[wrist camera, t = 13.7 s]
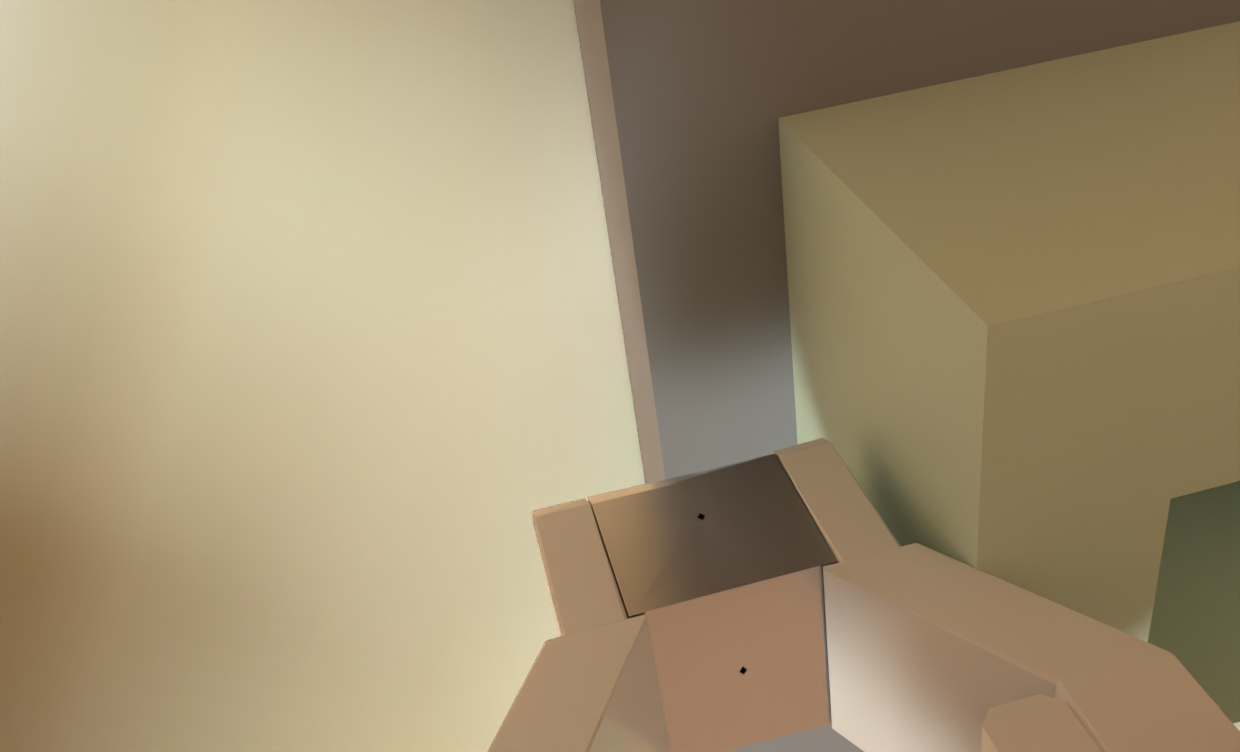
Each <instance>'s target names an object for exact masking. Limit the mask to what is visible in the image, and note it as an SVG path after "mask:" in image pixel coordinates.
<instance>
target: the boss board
mask: <svg viewBox="0 0 1240 752" xmlns="http://www.w3.org/2000/svg"><path fill="white" fill-rule="evenodd" d="M574 7H575V13H576V20H577V27H578V34H579V40H580V47H581V54H582V60H583V67H584V74H585V81H586V87H587V94H588V101H589V107H590V114H591V121H592V128H593V134H594V141H595V148H596V154H597V161H598V168H599V175H600V181H601V188H602V195H603V201H604V208H605V215H606V221H607V228H608V235H609V242H610V248H611V255H612V262H613V268H614V275H615V282H616V289H617V295H618V302H619V309H620V315H621V322H622V329H623V336H624V342H625V349H626V356H627V362H628V369H629V376H630V383H631V389H632V396H633V403H634V409H635V416H636V423H637V429H638V436H639V443H640V450H641V456H642V463H643V470H644V476H645V483H646V484H648V483H652V482H656V481H661V480H665V479H669V478H674V477H678V476H683V475H687V474H691V473H697V472H701V471H705V470H709V469H713V468H717V467H721V466H724V465H728V464H732V463H736V462H740V461H744V460H748V459H752V458H755V457H759V456H763V455H768V454H770V453H771V452H772V451H776V450H779V449H783V448H787V447H790V446H794V445H797V427H796V410H795V393H794V377H793V360H792V343H791V327H790V310H789V293H788V277H787V260H786V243H785V226H784V210H783V193H782V176H781V160H780V143H779V126H778V118H780V117H785V116H790V115H795V114H799V113H804V112H809V111H814V110H819V109H823V108H828V107H833V106H838V105H842V104H847V103H852V102H857V101H861V100H866V99H871V98H876V97H881V96H885V95H890V94H895V93H900V92H904V91H909V90H914V89H919V88H923V87H928V86H933V85H938V84H943V83H947V82H952V81H957V80H962V79H966V78H971V77H976V76H981V75H986V74H990V73H995V72H1000V71H1005V70H1009V69H1014V68H1019V67H1024V66H1028V65H1033V64H1038V63H1043V62H1048V61H1052V60H1057V59H1062V58H1067V57H1071V56H1076V55H1081V54H1086V53H1090V52H1095V51H1100V50H1105V49H1110V48H1114V47H1119V46H1124V45H1129V44H1133V43H1138V42H1143V41H1148V40H1152V39H1157V38H1162V37H1167V36H1172V35H1176V34H1181V33H1186V32H1191V31H1195V30H1200V29H1205V28H1210V27H1215V26H1219V25H1224V24H1229V23H1234V22H1238V21H1240V0H574ZM727 752H864V751H863V750H861V749H860V748H859V747H857V746H856V745H854V744H853V743H852V742H850V741H849V740H847V739H846V738H845V737H843V736H842V735H841V734H839V733H838V732H836V731H835V730H834V729H832V724H829V725H825V726H821V727H817V728H813V729H809V730H805V731H801V732H797V733H793V734H789V735H785V736H781V737H777V738H773V739H769V740H765V741H761V742H757V743H753V744H750V745H746V746H743V747H740V748H737V749H733V750H730V751H727Z"/></svg>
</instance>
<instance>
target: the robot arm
mask: <svg viewBox="0 0 1240 752" xmlns="http://www.w3.org/2000/svg"><path fill="white" fill-rule="evenodd" d="M532 517H533V525H534V529H535V533H536V537H537V542H538V546H539V550H540V555H541V559H542V563H543V567H544V572H545V576H546V580H547V585H548V589H549V593H550V597H551V602H552V606H553V610H554V615H555V619H556V623H557V627H558V632H559V636H560V637H558V638H554V639H550V640H547V641H545V643H544V645H543V647H542V649H541V651H540V653H539V654H538V656H537V658H536V660H535V662H534V664H533V666H532V668H531V670H530V672H529V673H528V675H527V677H526V679H525V681H524V683H523V685H522V687H521V689H520V691H519V693H518V694H517V696H516V698H515V700H514V702H513V704H512V706H511V708H510V710H509V712H508V713H507V715H506V717H505V719H504V721H503V723H502V725H501V727H500V729H499V731H498V732H497V734H496V736H495V738H494V740H493V742H492V744H491V746H490V748H489V750H488V752H727V751H730V750H733V749H737V748H740V747H743V746H746V745H750V744H753V743H757V742H761V741H765V740H769V739H773V738H777V737H781V736H785V735H789V734H793V733H797V732H801V731H805V730H809V729H813V728H817V727H821V726H825V725H829V724H832V729H834V730H835V731H836V732H838V733H839V734H841V735H842V736H843V737H845V738H846V739H847V740H849V741H850V742H852V743H853V744H854V745H856V746H857V747H859V748H860V749H861V750H863V751H864V752H1240V731H1239V730H1238V729H1237V728H1236V727H1235V725H1234V724H1233V723H1232V722H1231V721H1230V720H1229V718H1228V717H1227V716H1226V715H1225V714H1224V713H1223V711H1222V710H1221V709H1220V708H1219V707H1218V706H1217V705H1216V703H1215V702H1214V701H1213V700H1212V699H1211V698H1210V696H1209V695H1208V694H1207V693H1206V692H1205V691H1204V689H1203V688H1202V687H1201V686H1200V685H1199V684H1198V682H1197V681H1196V680H1195V679H1194V678H1193V677H1192V676H1191V674H1190V673H1189V672H1188V671H1187V670H1186V669H1185V667H1184V666H1183V665H1182V664H1181V663H1180V662H1179V660H1178V659H1177V658H1176V657H1175V656H1174V655H1173V653H1171V652H1168V651H1166V650H1164V649H1161V648H1159V647H1157V646H1154V645H1152V644H1150V643H1148V642H1145V641H1143V640H1141V639H1138V638H1136V637H1134V636H1131V635H1129V634H1127V633H1124V632H1122V631H1120V630H1117V629H1115V628H1113V627H1111V626H1108V625H1106V624H1104V623H1101V622H1099V621H1097V620H1094V619H1092V618H1090V617H1087V616H1085V615H1083V614H1081V613H1078V612H1076V611H1074V610H1071V609H1069V608H1067V607H1064V606H1062V605H1060V604H1057V603H1055V602H1053V601H1050V600H1048V599H1046V598H1044V597H1041V596H1039V595H1037V594H1034V593H1032V592H1030V591H1027V590H1025V589H1023V588H1020V587H1018V586H1016V585H1013V584H1011V583H1009V582H1007V581H1004V580H1002V579H1000V578H997V577H995V576H993V575H990V574H988V573H986V572H983V571H981V570H978V571H976V570H975V569H974V567H972V566H970V565H967V564H965V563H963V562H960V561H958V560H956V559H953V558H951V557H949V556H946V555H944V554H942V553H940V552H937V551H935V550H933V549H930V548H928V547H926V546H923V545H921V544H919V543H913V544H909V545H906V546H902V547H901V546H900V544H899V543H898V541H897V540H896V538H895V537H894V535H893V534H892V532H891V531H890V529H889V528H888V526H887V525H886V523H885V522H884V520H883V519H882V517H881V516H880V514H879V513H878V511H877V510H876V508H875V507H874V505H873V504H872V502H871V501H870V499H869V498H868V496H867V495H866V493H865V492H864V491H863V489H862V488H861V486H860V485H859V483H858V482H857V480H856V479H855V477H854V476H853V474H852V473H851V471H850V470H849V468H848V467H847V465H846V464H845V462H844V461H843V459H842V458H841V456H840V455H839V453H838V452H837V450H836V449H835V447H834V446H833V444H832V443H831V442H830V441H828V440H826V439H824V438H819V439H815V440H812V441H808V442H804V443H801V444H797V445H794V446H790V447H787V448H783V449H779V450H776V451H772V452H771V453H770V454H768V455H763V456H759V457H755V458H752V459H748V460H744V461H740V462H736V463H732V464H728V465H724V466H721V467H717V468H713V469H709V470H705V471H701V472H697V473H691V474H687V475H683V476H678V477H674V478H669V479H665V480H661V481H656V482H652V483H648V484H643V485H639V486H634V487H630V488H626V489H621V490H617V491H613V492H608V493H604V494H599V495H595V496H591V497H588V501H587V500H586V499H585V498H584V499H580V500H576V501H572V502H568V503H563V504H559V505H555V506H551V507H547V508H542V509H538V510H534V511H532Z"/></svg>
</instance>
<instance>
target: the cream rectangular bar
mask: <svg viewBox="0 0 1240 752" xmlns="http://www.w3.org/2000/svg"><path fill="white" fill-rule="evenodd" d="M778 126H779V143H780V160H781V176H782V193H783V210H784V226H785V243H786V260H787V277H788V293H789V310H790V327H791V343H792V360H793V377H794V393H795V410H796V427H797V444H801V443H804V442H808V441H812V440H815V439H819V438H824V439H826V440H828V441H830V442H831V443H832V444H833V446H834V447H835V449H836V450H837V452H838V453H839V455H840V456H841V458H842V459H843V461H844V462H845V464H846V465H847V467H848V468H849V470H850V471H851V473H852V474H853V476H854V477H855V479H856V480H857V482H858V483H859V485H860V486H861V488H862V489H863V491H864V492H865V493H866V495H867V496H868V498H869V499H870V501H871V502H872V504H873V505H874V507H875V508H876V510H877V511H878V513H879V514H880V516H881V517H882V519H883V520H884V522H885V523H886V525H887V526H888V528H889V529H890V531H891V532H892V534H893V535H894V537H895V538H896V540H897V541H898V543H899V544H900V546H901V547H902V546H906V545H909V544H913V543H919V544H921V545H923V546H926V547H928V548H930V549H933V550H935V551H937V552H940V553H942V554H944V555H946V556H949V557H951V558H953V559H956V560H958V561H960V562H963V563H965V564H967V565H970V566H972V567H974V569H975V570H976V571H978V570H981V571H983V572H986V573H988V574H990V575H993V576H995V577H997V578H1000V579H1002V580H1004V581H1007V582H1009V583H1011V584H1013V585H1016V586H1018V587H1020V588H1023V589H1025V590H1027V591H1030V592H1032V593H1034V594H1037V595H1039V596H1041V597H1044V598H1046V599H1048V600H1050V601H1053V602H1055V603H1057V604H1060V605H1062V606H1064V607H1067V608H1069V609H1071V610H1074V611H1076V612H1078V613H1081V614H1083V615H1085V616H1087V617H1090V618H1092V619H1094V620H1097V621H1099V622H1101V623H1104V624H1106V625H1108V626H1111V627H1113V628H1115V629H1117V630H1120V631H1122V632H1124V633H1127V634H1129V635H1131V636H1134V637H1136V638H1138V639H1141V640H1143V641H1145V642H1148V643H1150V644H1152V645H1154V646H1157V647H1159V648H1161V649H1164V650H1166V651H1168V652H1171V653H1173V655H1174V656H1175V657H1176V658H1177V659H1178V660H1179V662H1180V663H1181V664H1182V665H1183V666H1184V667H1185V669H1186V670H1187V671H1188V672H1189V673H1190V674H1191V676H1192V677H1193V678H1194V679H1195V680H1196V681H1197V682H1198V684H1199V685H1200V686H1201V687H1202V688H1203V689H1204V691H1205V692H1206V693H1207V694H1208V695H1209V696H1210V698H1211V699H1212V700H1213V701H1214V702H1215V703H1216V705H1217V706H1218V707H1219V708H1220V709H1221V710H1222V711H1223V713H1224V714H1225V715H1226V716H1227V717H1228V718H1229V720H1230V721H1231V722H1232V723H1233V724H1234V725H1235V727H1236V728H1237V729H1238V730H1239V731H1240V21H1238V22H1234V23H1229V24H1224V25H1219V26H1215V27H1210V28H1205V29H1200V30H1195V31H1191V32H1186V33H1181V34H1176V35H1172V36H1167V37H1162V38H1157V39H1152V40H1148V41H1143V42H1138V43H1133V44H1129V45H1124V46H1119V47H1114V48H1110V49H1105V50H1100V51H1095V52H1090V53H1086V54H1081V55H1076V56H1071V57H1067V58H1062V59H1057V60H1052V61H1048V62H1043V63H1038V64H1033V65H1028V66H1024V67H1019V68H1014V69H1009V70H1005V71H1000V72H995V73H990V74H986V75H981V76H976V77H971V78H966V79H962V80H957V81H952V82H947V83H943V84H938V85H933V86H928V87H923V88H919V89H914V90H909V91H904V92H900V93H895V94H890V95H885V96H881V97H876V98H871V99H866V100H861V101H857V102H852V103H847V104H842V105H838V106H833V107H828V108H823V109H819V110H814V111H809V112H804V113H799V114H795V115H790V116H785V117H780V118H778Z"/></svg>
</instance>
